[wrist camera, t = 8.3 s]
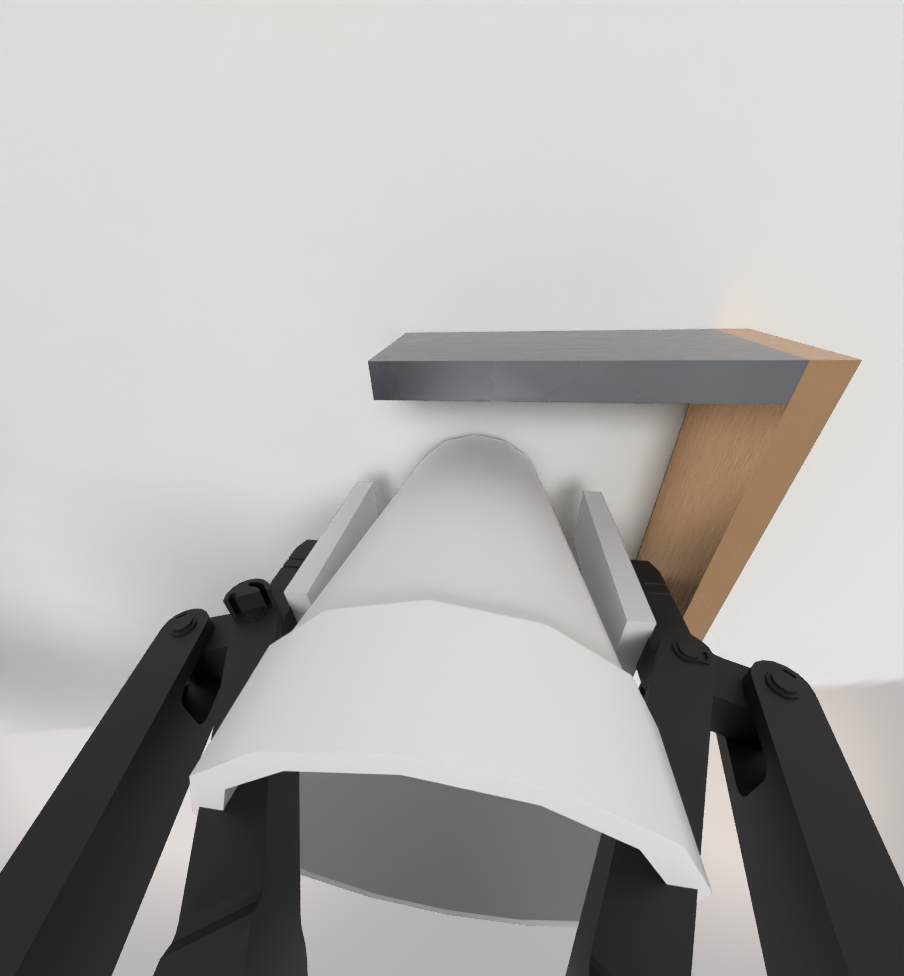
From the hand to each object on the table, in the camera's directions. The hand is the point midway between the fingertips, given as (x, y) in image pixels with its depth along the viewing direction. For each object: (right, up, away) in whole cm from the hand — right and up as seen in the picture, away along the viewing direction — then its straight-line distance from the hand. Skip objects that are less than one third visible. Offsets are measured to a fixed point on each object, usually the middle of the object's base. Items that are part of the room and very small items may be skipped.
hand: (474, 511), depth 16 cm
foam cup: (0, +1, +1) cm, 2 cm away
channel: (+3, +1, +2) cm, 4 cm away
